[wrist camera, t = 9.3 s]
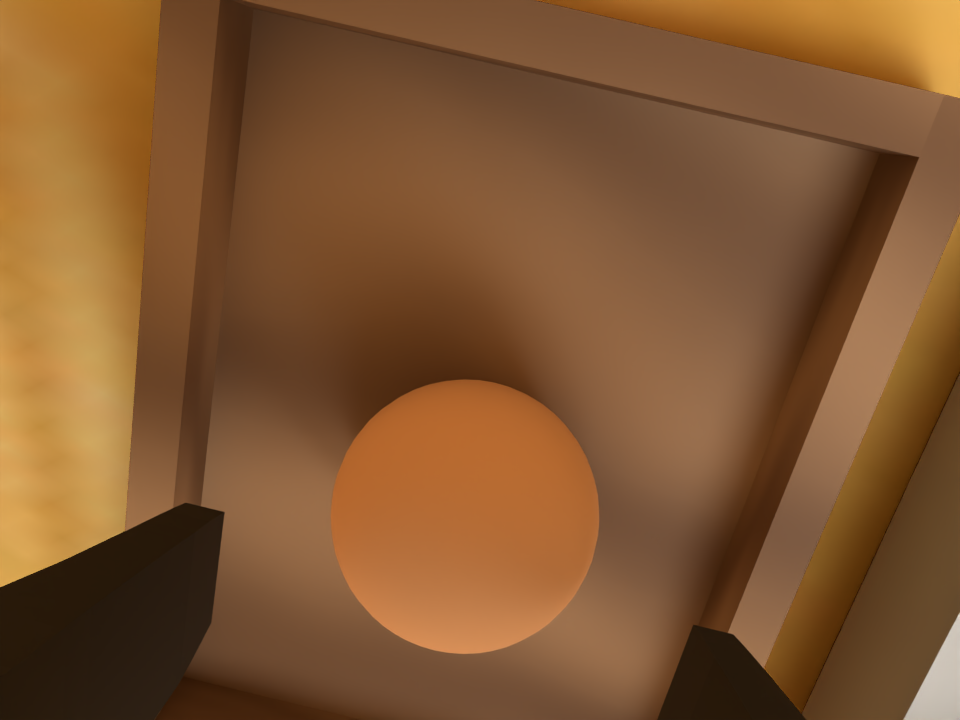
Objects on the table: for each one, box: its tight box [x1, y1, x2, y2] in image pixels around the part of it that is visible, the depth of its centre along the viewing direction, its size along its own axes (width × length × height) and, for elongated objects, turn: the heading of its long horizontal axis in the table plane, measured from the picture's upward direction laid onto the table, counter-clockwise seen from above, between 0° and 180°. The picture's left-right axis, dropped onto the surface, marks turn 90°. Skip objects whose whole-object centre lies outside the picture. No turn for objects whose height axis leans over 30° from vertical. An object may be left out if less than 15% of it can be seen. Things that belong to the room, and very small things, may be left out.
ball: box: [331, 379, 599, 654], centre depth 14 cm, size 5×5×5 cm
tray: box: [125, 0, 960, 720], centre depth 16 cm, size 18×14×2 cm
